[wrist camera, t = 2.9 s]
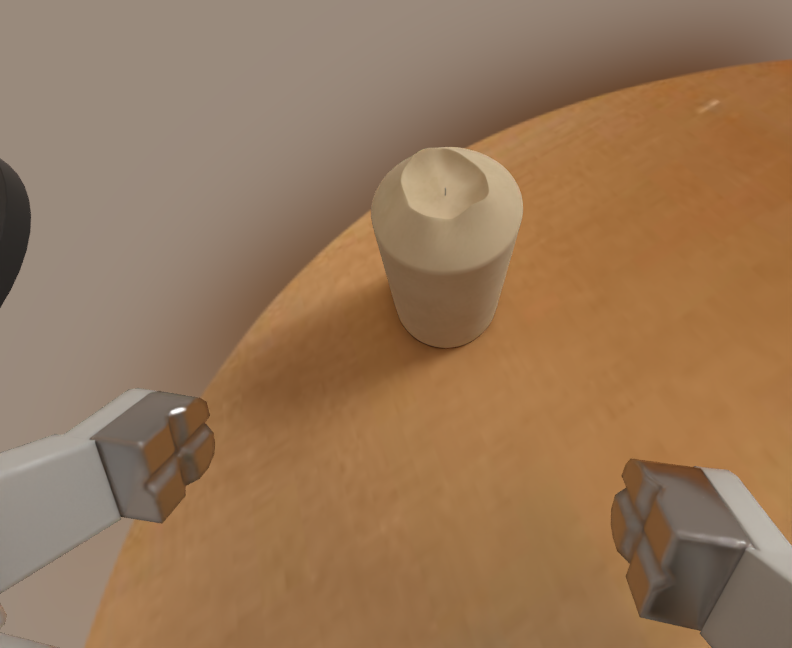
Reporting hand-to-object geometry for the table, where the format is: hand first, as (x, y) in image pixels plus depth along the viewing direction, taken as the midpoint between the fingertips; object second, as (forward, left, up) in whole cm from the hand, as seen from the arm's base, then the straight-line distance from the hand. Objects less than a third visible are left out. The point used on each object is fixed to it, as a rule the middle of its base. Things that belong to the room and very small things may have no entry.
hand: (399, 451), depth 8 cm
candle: (+2, +9, -13) cm, 16 cm away
